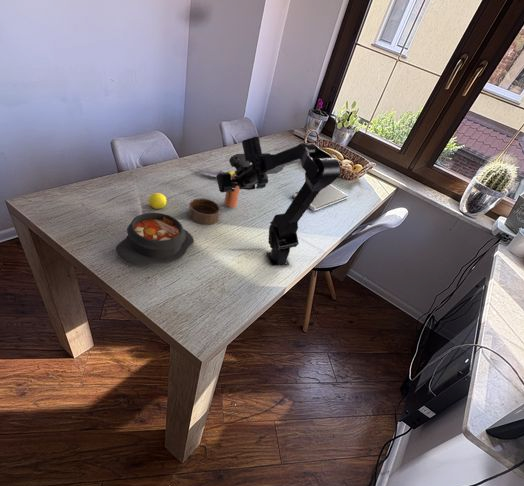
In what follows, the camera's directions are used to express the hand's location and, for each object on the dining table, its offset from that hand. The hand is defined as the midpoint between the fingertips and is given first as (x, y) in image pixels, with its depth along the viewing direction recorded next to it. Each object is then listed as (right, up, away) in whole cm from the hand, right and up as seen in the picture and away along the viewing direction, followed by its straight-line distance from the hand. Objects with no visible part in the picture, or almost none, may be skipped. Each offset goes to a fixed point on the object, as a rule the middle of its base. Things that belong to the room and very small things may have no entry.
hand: (231, 187), depth 137 cm
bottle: (-1, -5, +3) cm, 6 cm away
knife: (-5, +10, +20) cm, 23 cm away
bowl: (-10, -12, -5) cm, 16 cm away
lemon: (-26, -10, -7) cm, 28 cm away
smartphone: (+38, +4, +28) cm, 47 cm away
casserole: (-21, -27, -23) cm, 41 cm away
